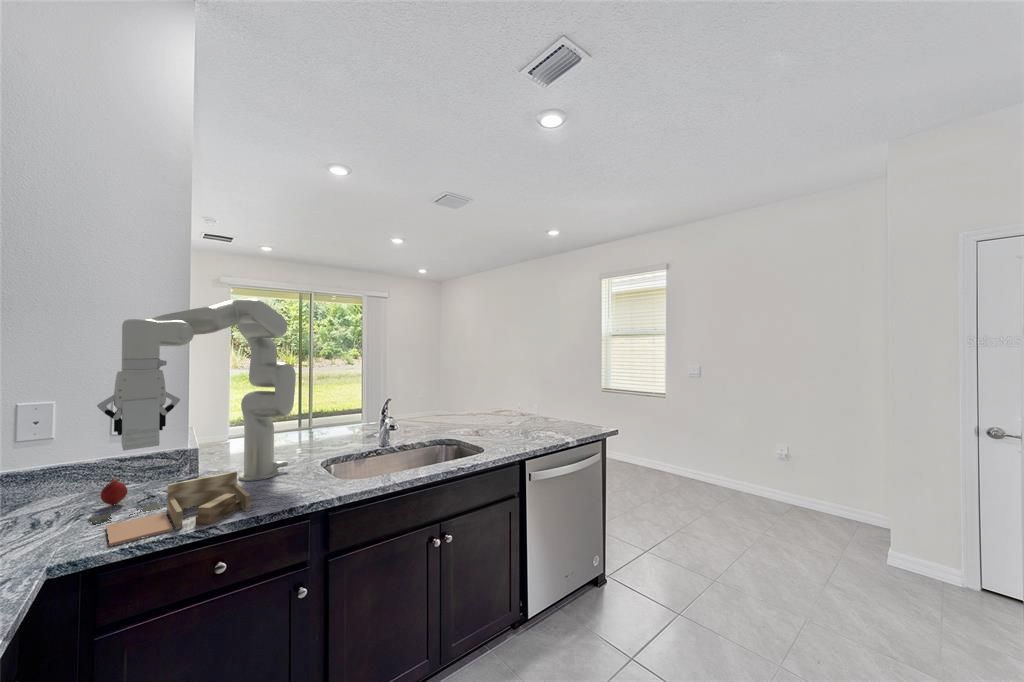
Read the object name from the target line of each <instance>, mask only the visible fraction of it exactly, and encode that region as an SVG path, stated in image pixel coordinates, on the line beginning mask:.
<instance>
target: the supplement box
mask: <svg viewBox="0 0 1024 682" xmlns="http://www.w3.org/2000/svg"><path fill="white" fill-rule="evenodd" d="M121 419H122V434H121V447H122V451H131V450H138V449H143V448H145V449H146V448H151V447H159V446H160V430H159V422H160V400H159V399H158V398H157V399H143V400H132V401H123V402H122V415H121Z"/></svg>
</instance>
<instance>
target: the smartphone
mask: <svg viewBox="0 0 1024 682" xmlns="http://www.w3.org/2000/svg"><path fill="white" fill-rule="evenodd" d="M151 503H152V504H151ZM148 504H149V503H148ZM143 505H144V506H145V507H143V509H141V510H142V511H143V512H146V511H151V510H155V509H160V508H162V507H163V506H162V505H160V504H159V503H157V502H150V504H149V506H147V505H145V504H143ZM136 509H137V508H136ZM162 509H163V508H162ZM138 510H139V509H137V511H138ZM141 510H140V512H141ZM160 510H161V509H160ZM140 512H139V513H140ZM134 514H135V513H134ZM137 514H138V513H137ZM130 515H133V514H130ZM130 515H129V516H130ZM110 516H111V514H109V513H105V514H101V515H96V516H93V517H90V518H88V519H87V521H88V520H89V521H90V522H92V524H93V525H96V524H101V523H104V522H107V521H111V520H109V519H112V518H111V517H110ZM108 518H109V519H108ZM89 521H88V522H89Z"/></svg>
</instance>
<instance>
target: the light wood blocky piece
mask: <svg viewBox="0 0 1024 682" xmlns="http://www.w3.org/2000/svg"><path fill="white" fill-rule="evenodd" d="M166 489H167V491H166V492H167V493H166V494H167V495H166V498H167V499H166V503H167V504H166V505H167V506H166V512H167V514H168V516H169V515H170V516H169V517H171V518H170V520H171V521H172V523H173V526H174V527H175V528H176V530H178V529H181V528H183V515H184V514H183V510H185V509H184V508H186V509H189V508H188V507H191V508H193V507H192V506H195V507H199V506H202V505H204V504H206V503H208V502H210V501H212V500H214V499H216V498H218V497H220V496H222V495H224V494H226V493H228V494H236V500H239V501H241V508H242V509H243V510H244V511H245V512H248V511H251V506H252V505H251V501H252V500H251V496H252V495H251V494H250V493H249V492H248V491H247V490H245V488H243V487H242V486H241V485H240V484H238V472H237V471H230V472H226V473H221V474H215V475H211V476H205V477H200V478H198V477H197V478H195V479H188V480H184V481H179V482H174V483H168V484H167V488H166ZM198 505H199V506H198Z"/></svg>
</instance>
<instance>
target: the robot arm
mask: <svg viewBox="0 0 1024 682" xmlns="http://www.w3.org/2000/svg"><path fill="white" fill-rule="evenodd" d="M236 325H237V329H238V331H239V333H240V335H242V337H244V339H246V341H247V343H248V345H249V347H250V348H249V349H250V361H249V363H250V364H249V370H248V371H249V372H248V382H249V383H250V384H251V385H252V386H253V387H255V388H257V387H258V388H274V390H273V391H271V390H254V391H250V392H248V393H246V394H245V395H244V396H243V397H242V398H241V403H240V405H241V406H240V408H241V412H242V418H243V426H244V427H243V428H244V429H243V430H244V431H243V432H244V435H243V441H244V442H243V443H244V444H243V471H242V472H241V473H239V474H238V480H240V481H246V482H247V481H248V482H251V481H252V482H253V481H261V480H267V479H270V478H272V477H275V476H277V475H278V474H279V469H280V468H285V467H288V466H289V464H288V463H289V462H288V461H287V460H286V461H282V460H281V461H275V460H274V459H275V458H274V457H275V455H274V454H275V450H274V449H275V426H274V423H273V420H272V418H285V417H287V416H289V415H290V414H291V413H292V411H293V408H294V401H295V391H296V382H297V381H296V379H297V378H296V376H297V375H296V371H295V368H294V366H293V365H292V364H291V363H288V362H283V361H278V349H277V345H276V343H275V342H274V340H273V339H279V338H282V337H283V336H285V334H286V333H287V331H288V322H287V321H286V318H284V316H283V315H281V314H280V313H279V312H278V311H276V310H275V309H273V307H272V306H270V305H268V304H267V303H266V302H264V301H262V300H260V299H255V298H231V299H227V300H224V301H223V300H222V301H219V302H216V303H214V304H213V303H212V304H210V305H206V306H202V307H197V308H192V309H187V310H182V311H176V312H170V313H166V314H161V315H157V316H153V317H149V318H146V319H143V318H130V319H129V318H128V319H125V320H124V321H123V322H122V324H121V370H119V371H117V372H116V375H115V382H114V389H113V390H114V391H113V394H112V395H111V396H109V397H108V398H106V399H104V400H102V401H101V402H99V403H98V404H97V405H96V407H97V408H98V409H99V410H100V411H101V412H103V413H104V415H106V416H108V417H109V418H111V419H113V432H114V433H117V436H122V402H123V401H132V400H143V399H157V398H158V399H159V400H160V422H159V431H163V430H164V429H163V427H166V419H167V417H166V416H167V414H169V413H170V412H171V411H172V410H173V409H174V408H175V407H176V406H177V404H178V403H180V402H181V399H180V398H179V397H177V396H175V395H174V394H172V393H170V392H168V391H166V382H165V381H166V380H165V375H164V372H163V371H164V370H163V369H161V367H163V366H167V360H162V359H160V358H161V357H160V356H161V353H160V349H161V347H181V346H186V345H187V344H189V343H190V342H191V341H193V339H194V337H195V336H198V335H207V334H213V333H216V332H220V331H222V330H225V329H228V328H230V327H233V326H236ZM167 399H169V400H171V401H170V403H169V404H167V406H165V407H164V405H166V401H167ZM111 403H113V405H114V407H115V408H116V411H113V410H111V409H110V408H109V407H107V406H109V405H110V404H111Z"/></svg>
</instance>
